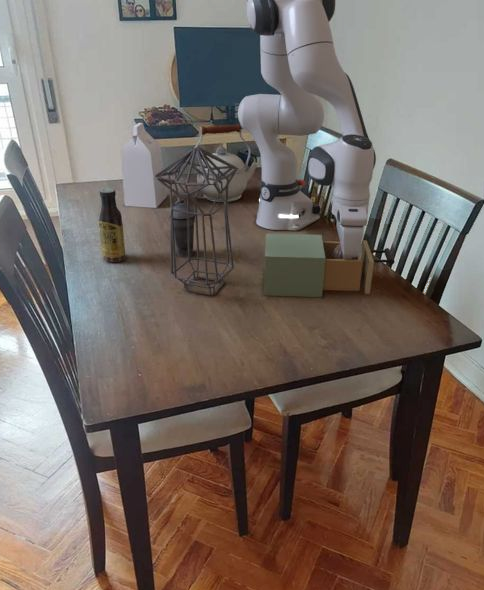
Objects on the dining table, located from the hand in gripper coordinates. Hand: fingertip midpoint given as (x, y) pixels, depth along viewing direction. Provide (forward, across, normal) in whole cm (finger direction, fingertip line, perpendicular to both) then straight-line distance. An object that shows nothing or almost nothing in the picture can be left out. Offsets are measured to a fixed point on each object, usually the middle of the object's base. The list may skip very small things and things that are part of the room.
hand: (344, 258), depth 142 cm
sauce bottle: (+8, -12, -63) cm, 65 cm away
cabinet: (+7, 0, -13) cm, 15 cm away
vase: (+4, 0, 0) cm, 4 cm away
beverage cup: (+8, -17, -44) cm, 48 cm away
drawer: (+6, 0, +3) cm, 7 cm away
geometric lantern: (+8, +4, -36) cm, 37 cm away
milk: (+8, -62, -65) cm, 90 cm away
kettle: (+8, -70, -36) cm, 79 cm away
